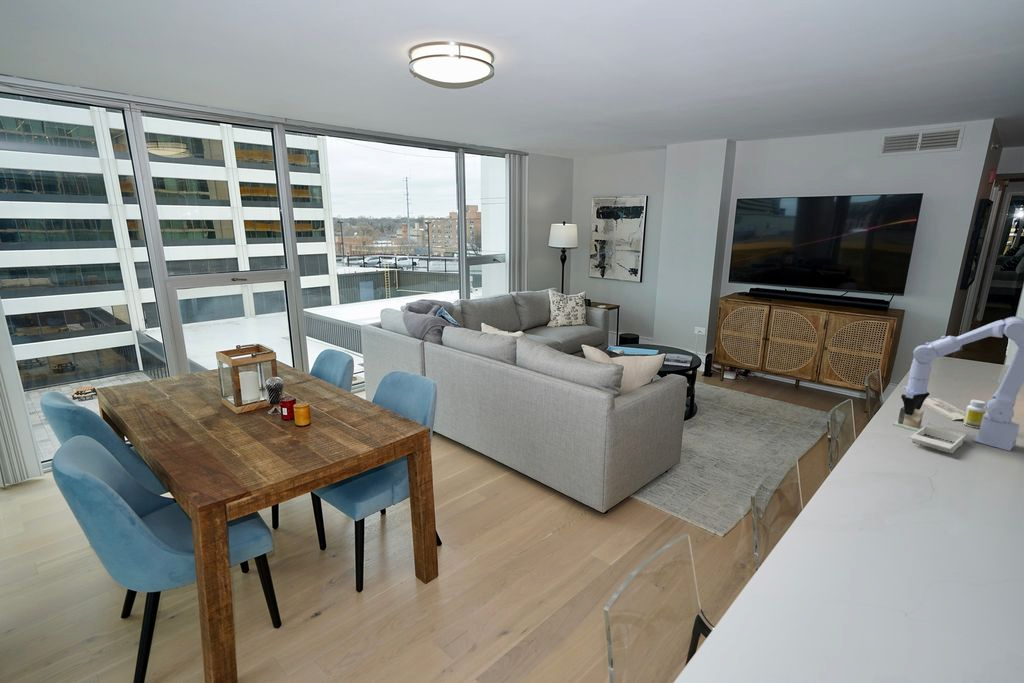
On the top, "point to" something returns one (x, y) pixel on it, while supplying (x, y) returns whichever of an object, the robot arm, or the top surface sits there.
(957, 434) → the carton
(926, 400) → the newspaper
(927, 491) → the top surface
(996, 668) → the top surface
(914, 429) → the tile
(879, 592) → the top surface
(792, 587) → the top surface
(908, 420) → the block
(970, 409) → the supplement bottle
